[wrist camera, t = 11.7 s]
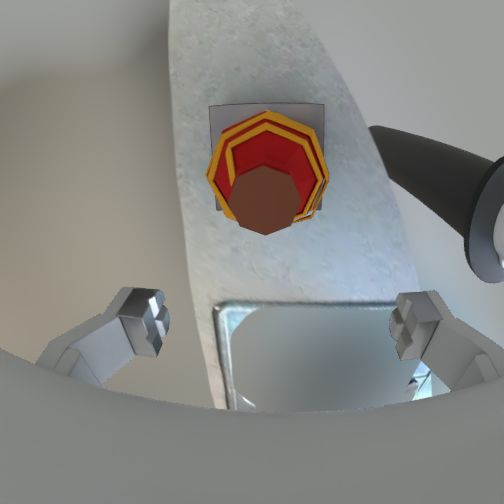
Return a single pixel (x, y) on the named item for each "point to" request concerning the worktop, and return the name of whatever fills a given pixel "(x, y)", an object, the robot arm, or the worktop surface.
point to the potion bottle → (267, 172)
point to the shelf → (295, 111)
